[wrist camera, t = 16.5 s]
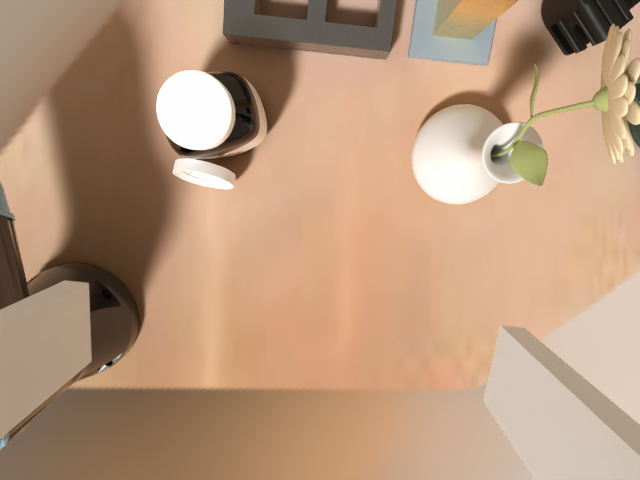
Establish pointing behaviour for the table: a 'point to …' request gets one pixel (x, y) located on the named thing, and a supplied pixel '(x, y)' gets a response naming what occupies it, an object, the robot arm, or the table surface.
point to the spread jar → (209, 122)
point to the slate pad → (446, 40)
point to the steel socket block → (309, 30)
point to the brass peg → (467, 16)
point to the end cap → (584, 21)
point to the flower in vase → (518, 135)
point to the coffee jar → (636, 131)
